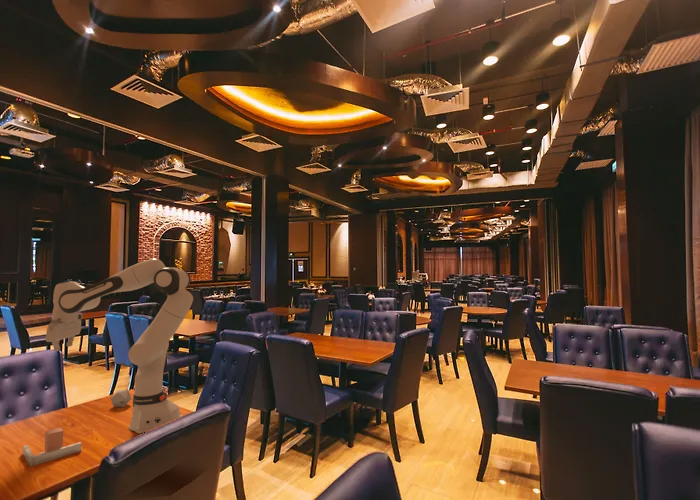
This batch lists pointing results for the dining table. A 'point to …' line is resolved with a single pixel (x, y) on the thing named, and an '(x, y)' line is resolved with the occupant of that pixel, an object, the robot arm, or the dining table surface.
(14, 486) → the dining table surface
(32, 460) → the corner wall
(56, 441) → the block
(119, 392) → the grey faceted polyhedron
